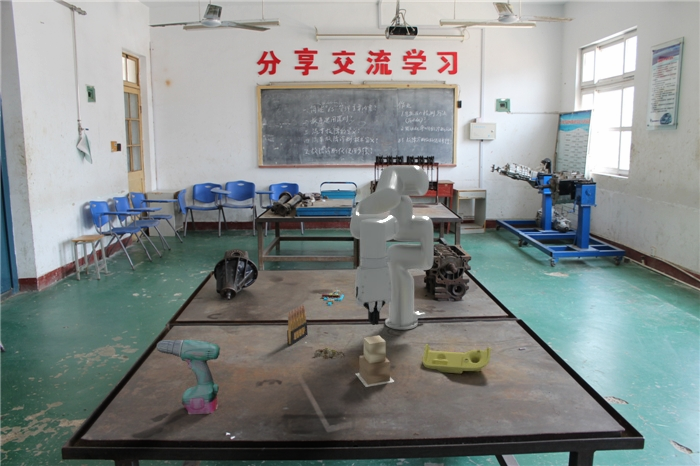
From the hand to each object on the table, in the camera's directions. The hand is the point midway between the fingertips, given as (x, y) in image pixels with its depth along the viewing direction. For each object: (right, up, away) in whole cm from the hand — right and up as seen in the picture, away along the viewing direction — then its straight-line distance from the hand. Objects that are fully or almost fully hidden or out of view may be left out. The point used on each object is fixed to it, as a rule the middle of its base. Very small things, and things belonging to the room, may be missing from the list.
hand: (373, 323), depth 153 cm
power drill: (-50, -22, -10) cm, 55 cm away
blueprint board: (0, -18, +5) cm, 18 cm away
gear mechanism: (-15, -4, +83) cm, 84 cm away
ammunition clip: (-26, -12, +36) cm, 46 cm away
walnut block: (0, -17, +3) cm, 17 cm away
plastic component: (+26, -16, +11) cm, 33 cm away
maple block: (0, -11, +2) cm, 11 cm away
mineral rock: (-14, -16, +20) cm, 29 cm away
